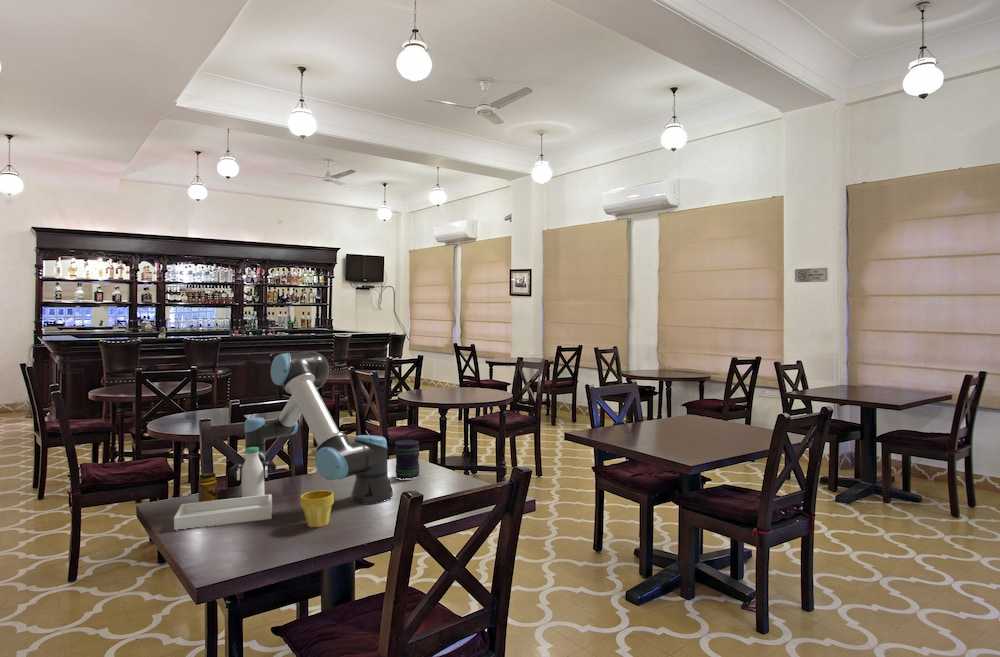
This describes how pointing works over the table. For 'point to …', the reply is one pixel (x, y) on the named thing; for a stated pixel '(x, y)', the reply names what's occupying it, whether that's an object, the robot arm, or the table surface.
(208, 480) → the condiment
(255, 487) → the milk bottle
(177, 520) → the tray
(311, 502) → the plant pot
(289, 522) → the table surface
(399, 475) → the storage jar
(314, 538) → the table surface
